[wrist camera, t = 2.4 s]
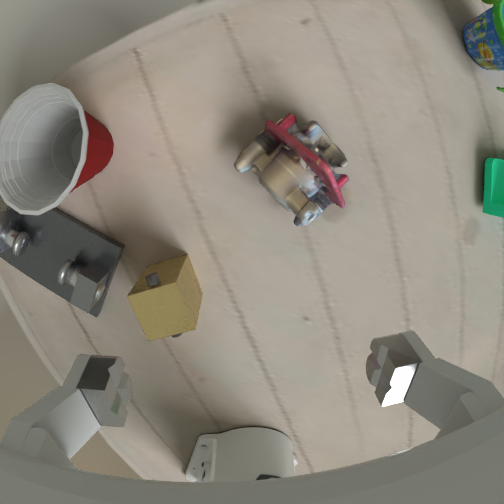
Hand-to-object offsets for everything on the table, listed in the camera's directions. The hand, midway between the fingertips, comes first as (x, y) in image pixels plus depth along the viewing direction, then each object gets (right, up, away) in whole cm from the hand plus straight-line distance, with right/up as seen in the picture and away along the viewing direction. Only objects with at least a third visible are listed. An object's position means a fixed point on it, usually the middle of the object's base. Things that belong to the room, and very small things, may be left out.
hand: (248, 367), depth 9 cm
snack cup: (+32, +33, +18) cm, 50 cm away
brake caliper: (+4, +13, +23) cm, 27 cm away
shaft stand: (-24, +4, +24) cm, 34 cm away
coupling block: (-9, 0, +26) cm, 27 cm away
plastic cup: (-18, +15, +21) cm, 31 cm away
